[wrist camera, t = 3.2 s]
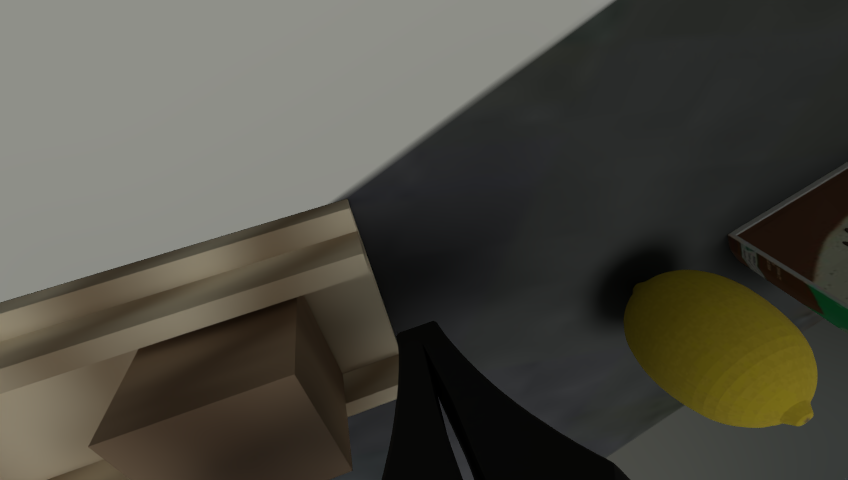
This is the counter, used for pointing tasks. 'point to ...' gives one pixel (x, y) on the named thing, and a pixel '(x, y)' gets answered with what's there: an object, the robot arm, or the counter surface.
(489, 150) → the counter surface
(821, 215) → the food container
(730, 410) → the lemon
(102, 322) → the track
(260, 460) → the block
